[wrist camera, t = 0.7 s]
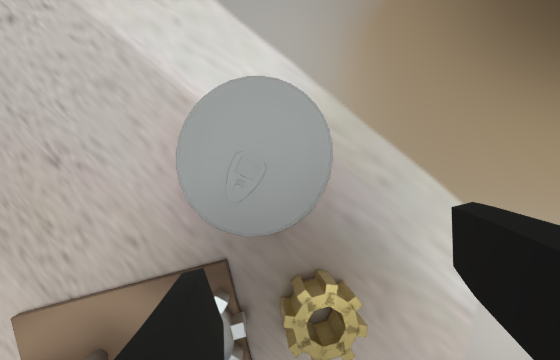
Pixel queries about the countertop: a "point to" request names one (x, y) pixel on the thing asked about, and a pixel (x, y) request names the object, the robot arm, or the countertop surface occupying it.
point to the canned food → (254, 156)
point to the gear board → (105, 319)
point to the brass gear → (326, 334)
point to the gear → (231, 326)
